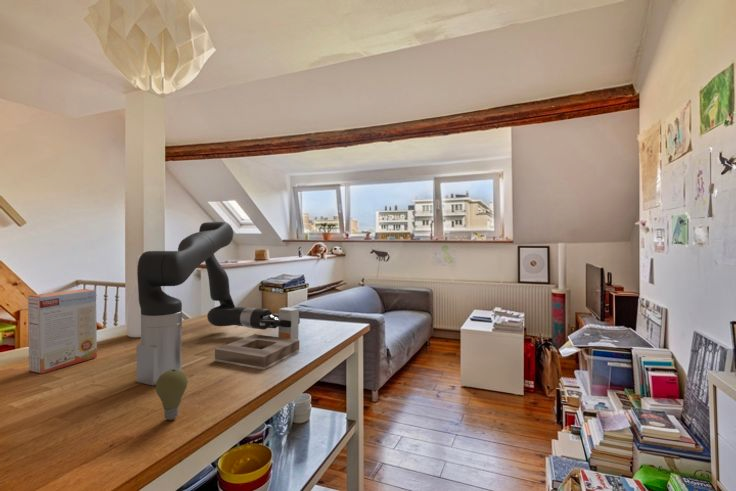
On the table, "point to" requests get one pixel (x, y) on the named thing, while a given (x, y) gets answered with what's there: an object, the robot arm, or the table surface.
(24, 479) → the table surface
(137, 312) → the wine bottle
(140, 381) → the robot arm
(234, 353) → the walnut stand
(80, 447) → the table surface
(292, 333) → the skincare box
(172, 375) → the light bulb
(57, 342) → the cracker box
